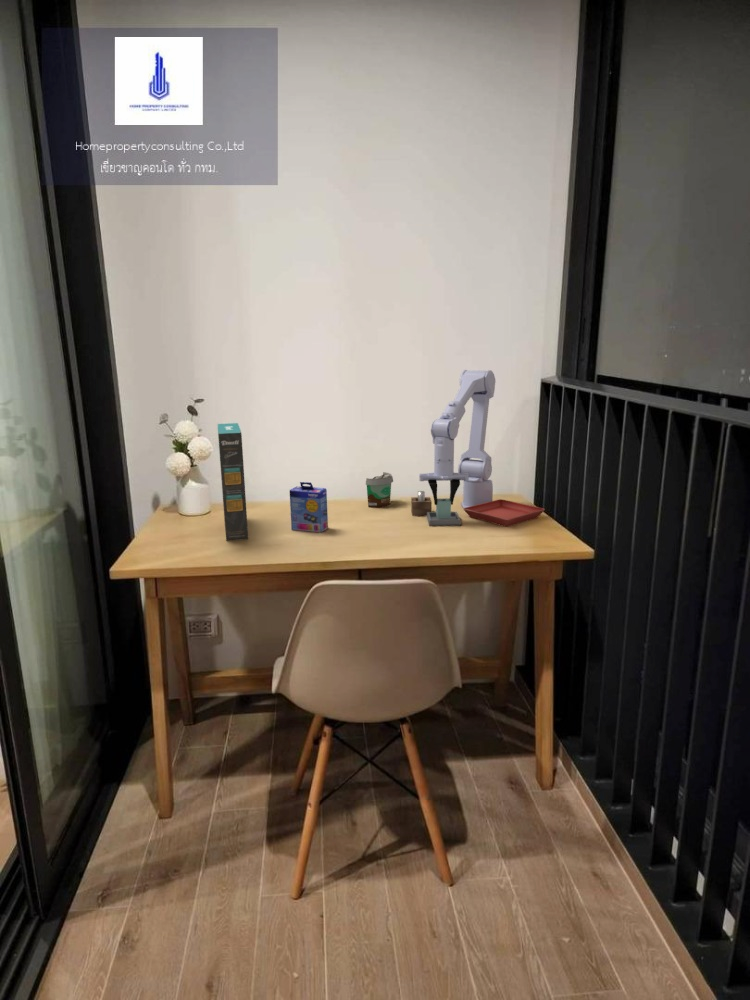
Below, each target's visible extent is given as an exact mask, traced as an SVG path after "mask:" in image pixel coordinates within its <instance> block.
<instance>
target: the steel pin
mask: <svg viewBox="0 0 750 1000" xmlns="http://www.w3.org/2000/svg"><path fill="white" fill-rule="evenodd" d="M425 494H426V491H424V490H418V491H417V497H418V501H425V497H426V495H425Z"/></svg>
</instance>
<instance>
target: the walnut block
mask: <svg viewBox="0 0 750 1000" xmlns="http://www.w3.org/2000/svg"><path fill="white" fill-rule="evenodd" d="M410 501H411V502H410V503H411V505H410V508H411V509H410V510H411V515H412V517H420V516H421V517H427V512H433V511H432V510H433V509H432V508H433V507H432V506H433V505H432V504H433V503H432V499H431V496H428V497H427V496H425V501H418V496H415V497H411V499H410Z"/></svg>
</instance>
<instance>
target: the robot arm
mask: <svg viewBox="0 0 750 1000" xmlns="http://www.w3.org/2000/svg"><path fill="white" fill-rule="evenodd" d="M495 388H496V376H495V374H494V371H493V370H490V369H488V370H471V369H470V370H467V369H464V370H463V371H462V372H461V374H460V377H459V389H458V391H457V393H456V395H455V397H454V400H451V401H449V402H448V403H447V404H446V406H445V408H444V409H443V412H442V413H441V415H440V416H439V418H437V419H435V420H434V421H432V424H431V427H430V434H431V437H432V443H433V444H434V455H433V456H434V464H433V465H434V468H433V469H434V471H433V472H427V473H419V474H418V476H419V478H418V479H419V482H426V481H427V483H428V485H429V487H430V490H431V492H432V495H433V502H434V506H436V505H437V499H438V482H437V481H439V482H440V481H441V482H442V481H443V482H444V481H445V482H446V481H449V482H450V483H449V486H450V487H449V488H450V490H449V491H450V493H449V498H450V501H451V506H452V505H453V504H454V500H455V496H456V493H457V491H458V489H459V487H460V485H461V482H460V481H463V484H462V485H463V487H462V489H463V491H462V492H463V494H462V496H463V497H462V501H460V505H461V506H462V509H463V508H466V507H470V506H475V505H479V504H483V503H487V502H491V501H493V500H494V499H493V495H494V494H493V493H494V492H493V491H494V488H493V487H494V485H493V480H492V479H490V477H492V472H493V466H492V465H493V464H492V457H491V456H490V455H489V453H488V452H486V451H485V443H486V433H487V424H488V414H489V406H490V400H491V399H492V398H493V397H494V395H495ZM470 399H472V402H473V404H472V412H471V413H472V414H471V420H470V421H471V424H470V431H469V433H470V434H469V440H468V441H469V443H468V449H467V450H465V452H463V453H462V454H461V455H460V461H459V463H458V467H457V471H458V472H454V470H455V469H454V468H455V465H454V464H455V462H454V461H455V460H454V459H455V438H456V437H458V433H459V428H460V422H461V421H462V418H464V415H465V413H466V407H465V406H466V405H467V403H468V402H469V400H470ZM479 459H480V460H479Z"/></svg>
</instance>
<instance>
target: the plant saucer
mask: <svg viewBox="0 0 750 1000" xmlns="http://www.w3.org/2000/svg"><path fill="white" fill-rule="evenodd" d="M462 509H463V511H464V512H465V513H466V515H468V516H469V517H470V518H472V519H476V520H480V521H483V522H487V523H491V524H494V525H498V526H502V527H507V528H508V527H511V526H514V525H518V524H521V523H525V522H528V521H531V520H535V519H537V518H538V517H539V516H541V514H542V513H544V511H545V508H542V507H539V506H533V505H529V504H525V503H520V502H516V501H510V500H506V499H501V498H500V499H496V500H492V501H491V502H487V503H483V504H479V505H475V506H470V507H466V508H463V507H462Z"/></svg>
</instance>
